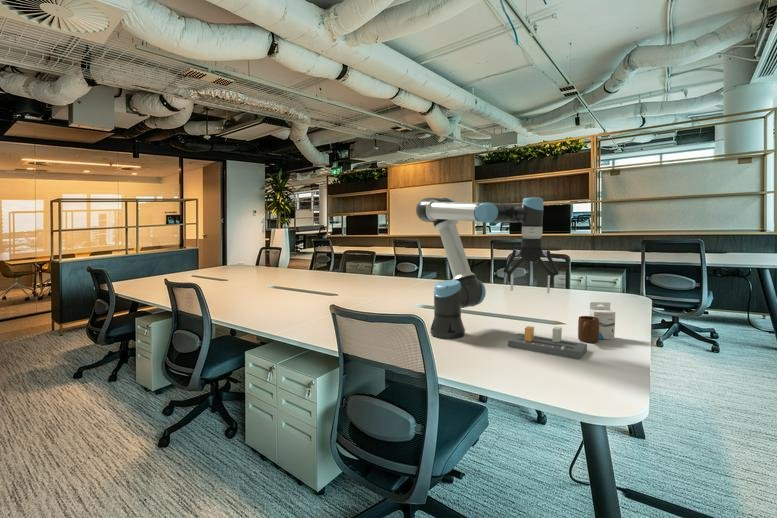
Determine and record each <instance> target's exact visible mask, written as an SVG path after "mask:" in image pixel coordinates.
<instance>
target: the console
mask: <svg viewBox="0 0 777 518" xmlns="http://www.w3.org/2000/svg"><path fill="white" fill-rule="evenodd" d="M507 347H509V348H514V349H519V350H526V351H531V352H536V353H541V354H548V355H553V356H559V357H563V358H569V359H575V360H581V358H583V356H584V355H585V354H586V353H587V351H588V343H585V342H583V343H582V342H578V341H577V342H576V341H571V340H570V341H569V340H564V339H561V341H560V342H553V341H552V337H551V338H550V337H546V336H545V337H543V336H538V335H534V340H532V341H531V342H530V341H525V333H520V332H519V333H516V334H515V335H514V336H512V337H511V338H509V339H507Z"/></svg>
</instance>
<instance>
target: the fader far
mask: <svg viewBox="0 0 777 518" xmlns="http://www.w3.org/2000/svg"><path fill="white" fill-rule="evenodd" d="M562 328H563V327H562V326H561V327H560V326H554V327H553V328H552V336H551V338H552V341H553V342H560V341H561V340H562V335H563V333H562V332H563V331H562Z"/></svg>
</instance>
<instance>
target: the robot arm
mask: <svg viewBox="0 0 777 518" xmlns="http://www.w3.org/2000/svg"><path fill="white" fill-rule="evenodd" d="M415 213H416V216H417V218H418V219H419V220H420V221H422V222H426V223H433V226H434V229H435V230H437V231H439V235H440V238H441V242H442V245H443V248H444V252H445V256H446V258H447V261H448V264H449V267H450V268H449V269H450V271H451V274H452V279H448V280H442V281H439V282H436V284H435V285H434V287H433V288H434V289H433V309H434V311H433V313H434V315H433V319H432V323H431V326H430V329H429V330H430V332H429V333H431V334H432V335H433V336H432V335H431V334H430V335H431V336H432V337H434V336H435V338H438V339H447V340H449V339H450V340H452V339H460V338H463V337H464V336H465V335H466V328H465V326H464V322H463V320H462V319H463V318H462V309H465V308H470V307H474V306H477V305H481V303H482V302H483V301H484V300H485V297H486V293H487V292H486V286H485V284H484V283H483V282H482V281H481V280H479V279H478V278H477V275H476V274H475V273H474V272H472V271H471V268H470V264H469V261H468V258H467V255H466V252H465V249H464V245H463V243H462V239H461V237H460V233H459V230H458V228H457V224H458V222H459V221H463V222H464V221H465V222H479V223H483V224H485V223H486V224H487V223H488V224H489V223H521V237H522V238H521V243H520V247H521V248H520V250H519V249H513V250H512V253H511V256H510V258H509V260H508V262H507V263H506V265H505V267H504V269H503V273H506V274H507V282H508V283H510V287H509V289H510V291H511V292H513V291H514V273H513V272H514V271H515V270H517V268H518V267H519V266H520V265H521V264H522V263H523V262H524V261H525V262H527V263H528V262H533V263H535V262H538V263H539V265H541V267H542V268H543V269H544V270H545V272H546V273H547V274H548V275H547V288H546V289H547V292H546V293H547V294H550V290H551V289H550V288H551V287H550V285H552V286H553V284H554V277H555V276H557V275H559V274H560V273H559V270H558V268H557V266H556V264H555V262H554V259H553V258H552V256H551V251H550V250H549V249H548V250H544V251H543V247H542V245H543V238H542V237H543V230H544V229H543V223H544V222H543V218H544V217H543V216H544V199H543V198H542V197H524V198H523V199H522V203H521V202H519V203H506V202H505V203H501V202H497V203H495V202H488V201H487V202H465V201H462V202H458V201H455V200H454V199H453V198H446V197H424V198H422V199H420V201H418V202H417V204H416V208H415ZM518 255H520V256H521V258H520V259H519V260H518V261H517V262H516V263H515V264H514V265H513V266H512V267H511V265H512V263H513V262H514V259H516V256H518ZM543 255H544V256H545V257H546V258H547V260H548V262H549V264H550V266H551V268H552V270H553V271H552V270H551V269H550V267H548V265H547V264H546V263H545V262H544V261H543V259H542V258H541V257H542V256H543ZM510 267H511V268H510ZM509 268H510V269H509Z"/></svg>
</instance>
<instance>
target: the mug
mask: <svg viewBox="0 0 777 518" xmlns="http://www.w3.org/2000/svg"><path fill="white" fill-rule="evenodd" d="M577 321H578V323H577V338H578V341H580V342H583V343H587V344H588V343H589V344H594V343H598V342H599V340H600V339H599V318H597V317H592V316H589V315H581V316H579V317H578V319H577Z"/></svg>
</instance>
